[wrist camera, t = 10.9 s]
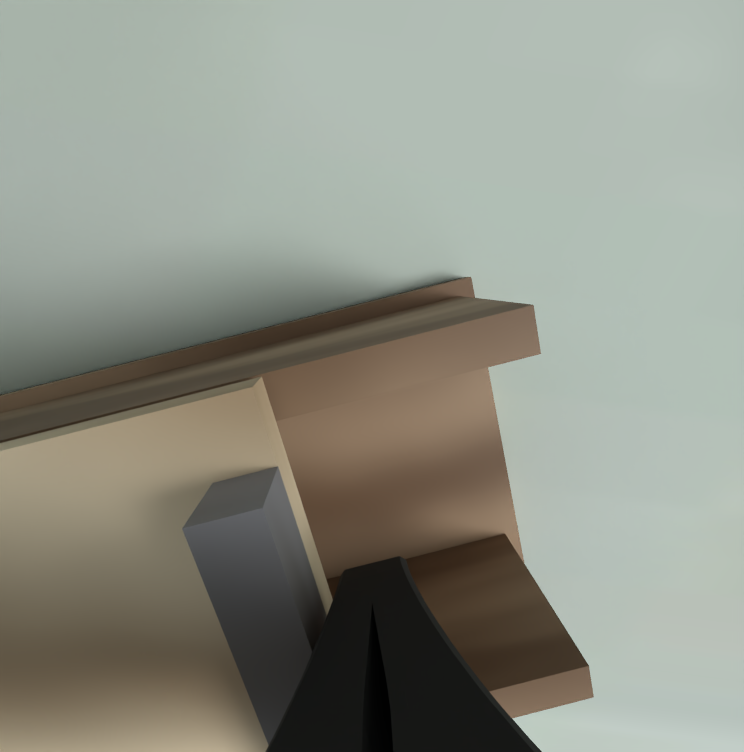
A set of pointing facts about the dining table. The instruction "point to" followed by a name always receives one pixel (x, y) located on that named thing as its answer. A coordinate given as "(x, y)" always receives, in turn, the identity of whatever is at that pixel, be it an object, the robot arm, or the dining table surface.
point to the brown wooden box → (382, 459)
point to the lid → (155, 580)
